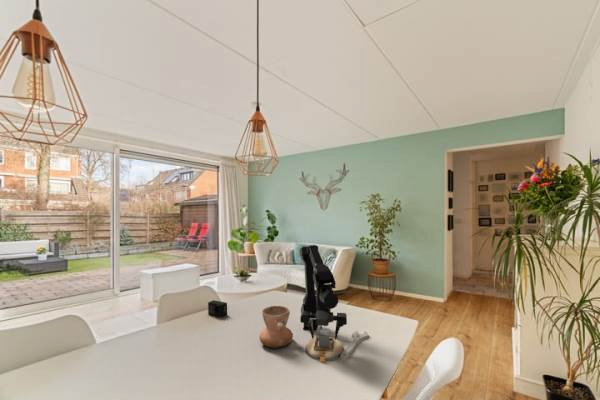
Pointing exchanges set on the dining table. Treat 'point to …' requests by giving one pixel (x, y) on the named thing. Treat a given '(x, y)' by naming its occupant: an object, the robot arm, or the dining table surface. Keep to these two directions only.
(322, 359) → the turntable base
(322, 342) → the link block
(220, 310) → the digital camera
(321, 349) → the index disc
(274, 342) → the ceramic jug
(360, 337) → the adjustable wrench
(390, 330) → the dining table surface
